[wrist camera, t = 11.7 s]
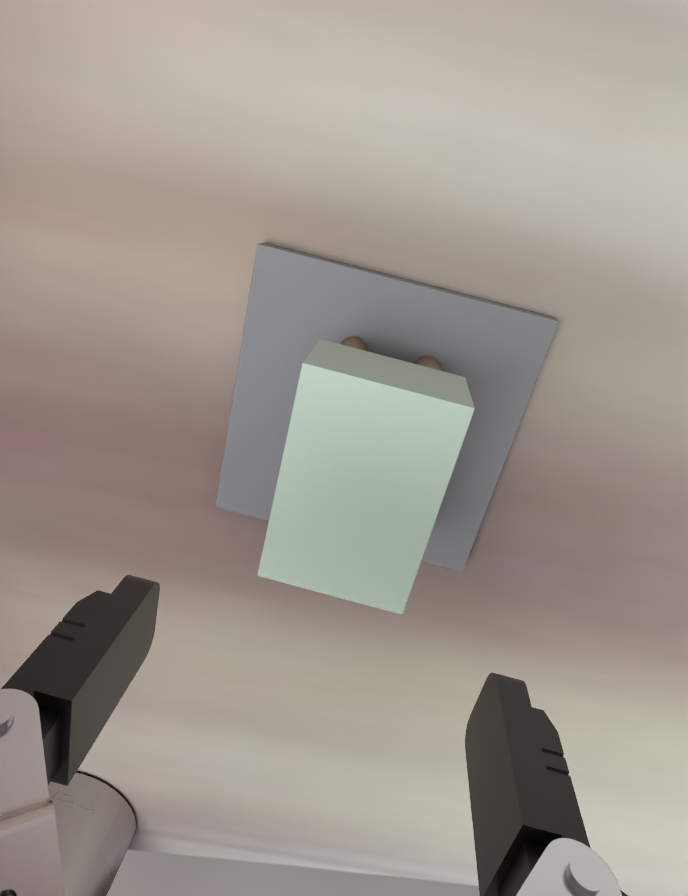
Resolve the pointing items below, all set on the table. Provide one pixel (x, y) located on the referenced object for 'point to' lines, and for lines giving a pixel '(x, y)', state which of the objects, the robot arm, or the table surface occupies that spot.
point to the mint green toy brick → (363, 473)
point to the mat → (389, 334)
